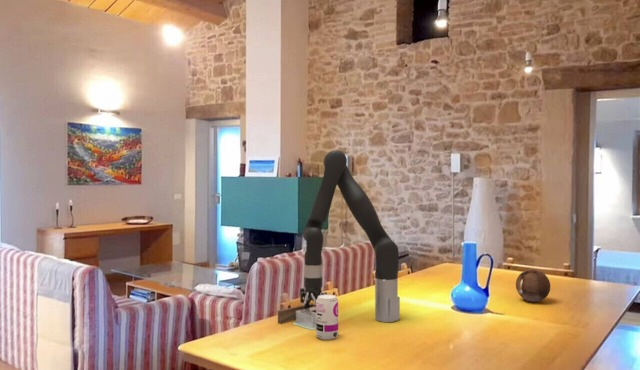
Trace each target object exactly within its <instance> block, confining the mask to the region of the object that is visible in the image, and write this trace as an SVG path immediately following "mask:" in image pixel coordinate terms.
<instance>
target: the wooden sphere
mask: <svg viewBox="0 0 640 370" xmlns="http://www.w3.org/2000/svg"><path fill="white" fill-rule="evenodd" d="M515 287H516V289H515V290H516V292H517V293H518V295H519V296H520V297H521V298H522V299H524V301H527V302H531V303H538V302H542V301H544V300H545V299H546V298H547V297H548V295H549V294H550V292H551V281H550V279H549V277H548V276H547V275H546V274H545V273H544V272H543V271H541V270H538V269H534V268H533V269H527V270H524V271H521V273H519V274H518V276H517V278H516V281H515Z"/></svg>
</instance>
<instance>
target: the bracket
mask: <svg viewBox="0 0 640 370" xmlns="http://www.w3.org/2000/svg"><path fill="white" fill-rule="evenodd" d="M295 323H296V324H299V325H303V326H306V327H309V328H312V329H313V328H316V307H311V308H307V309H302V310H298V311H296V320H295Z"/></svg>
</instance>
